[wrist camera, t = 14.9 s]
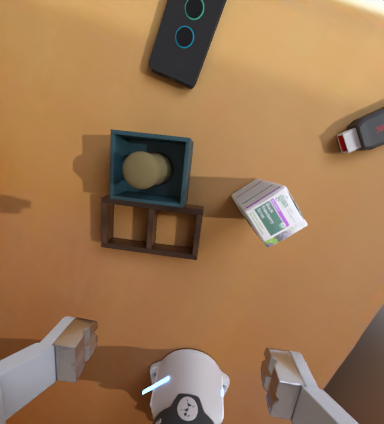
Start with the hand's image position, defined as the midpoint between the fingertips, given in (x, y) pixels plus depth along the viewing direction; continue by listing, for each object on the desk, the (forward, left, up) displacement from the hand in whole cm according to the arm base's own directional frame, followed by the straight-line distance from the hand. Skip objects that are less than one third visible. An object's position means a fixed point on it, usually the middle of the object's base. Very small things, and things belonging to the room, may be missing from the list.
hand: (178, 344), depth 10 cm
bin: (+6, +9, -31) cm, 33 cm away
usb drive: (+17, -27, -31) cm, 45 cm away
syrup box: (+3, -9, -31) cm, 33 cm away
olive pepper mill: (+7, +9, -31) cm, 32 cm away
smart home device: (+31, +5, -31) cm, 44 cm away
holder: (-5, +9, -31) cm, 32 cm away
